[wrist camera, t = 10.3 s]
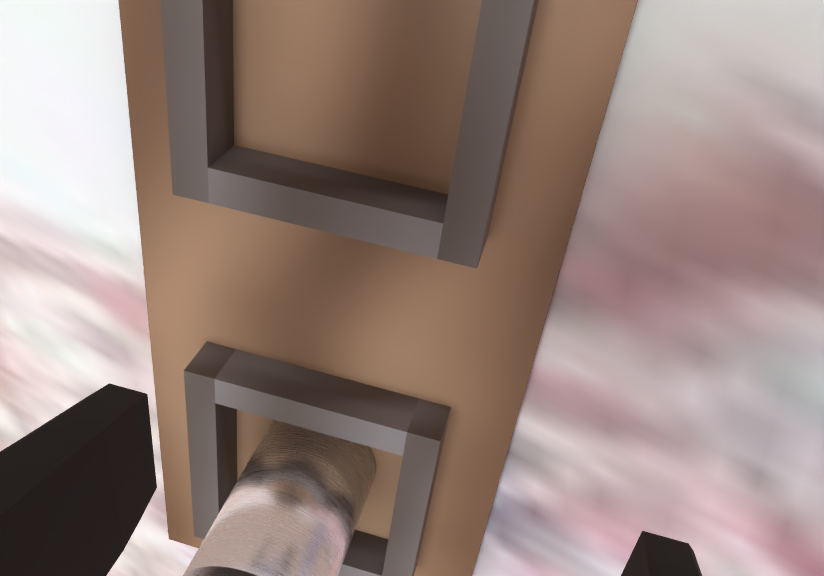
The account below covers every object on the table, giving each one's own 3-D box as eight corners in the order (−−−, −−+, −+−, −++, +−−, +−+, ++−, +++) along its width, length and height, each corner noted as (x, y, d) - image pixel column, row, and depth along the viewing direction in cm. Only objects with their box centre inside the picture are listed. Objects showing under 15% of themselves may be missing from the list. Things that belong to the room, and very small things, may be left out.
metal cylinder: (382, 431, 24) (297, 648, 18) (370, 510, 26) (290, 726, 20) (265, 397, 24) (144, 599, 18) (263, 478, 27) (154, 680, 21)
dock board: (716, -278, 13) (726, -288, 12) (459, 616, 29) (448, 664, 28) (99, -364, 15) (33, -384, 13) (175, 529, 31) (149, 570, 29)
